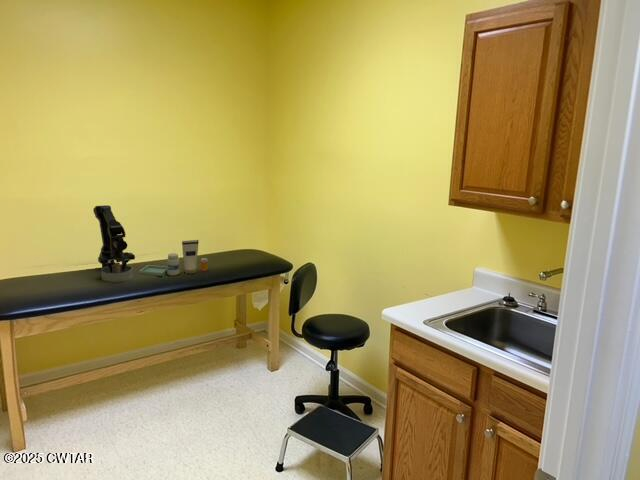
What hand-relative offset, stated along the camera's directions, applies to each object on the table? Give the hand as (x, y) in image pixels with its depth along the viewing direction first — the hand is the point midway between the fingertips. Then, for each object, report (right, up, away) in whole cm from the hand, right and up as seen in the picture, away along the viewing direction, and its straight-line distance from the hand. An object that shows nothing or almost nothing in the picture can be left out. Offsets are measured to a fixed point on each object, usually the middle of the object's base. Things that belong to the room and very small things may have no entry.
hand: (117, 272), depth 259 cm
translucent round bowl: (0, -3, +1) cm, 4 cm away
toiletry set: (+35, -2, +19) cm, 40 cm away
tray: (+17, -1, +14) cm, 22 cm away
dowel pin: (0, -3, +1) cm, 3 cm away
